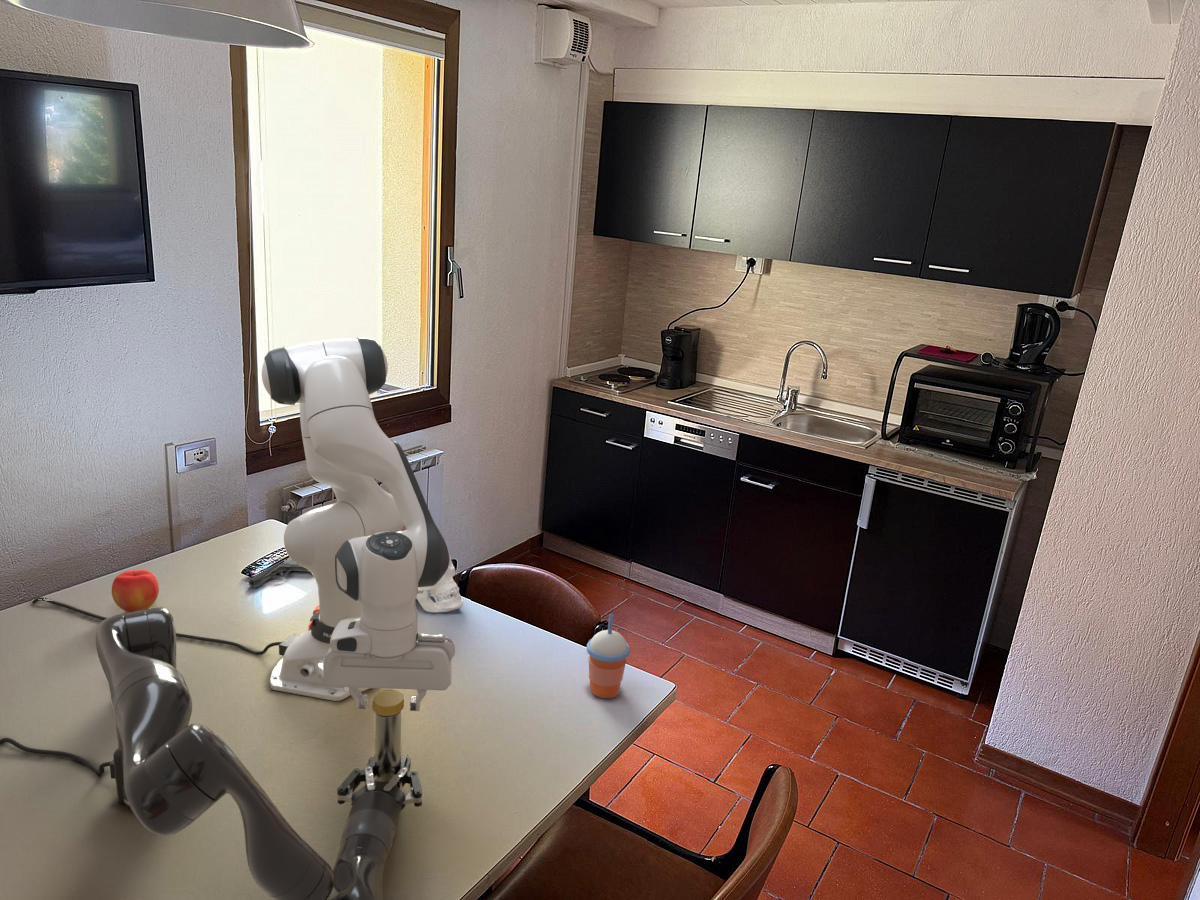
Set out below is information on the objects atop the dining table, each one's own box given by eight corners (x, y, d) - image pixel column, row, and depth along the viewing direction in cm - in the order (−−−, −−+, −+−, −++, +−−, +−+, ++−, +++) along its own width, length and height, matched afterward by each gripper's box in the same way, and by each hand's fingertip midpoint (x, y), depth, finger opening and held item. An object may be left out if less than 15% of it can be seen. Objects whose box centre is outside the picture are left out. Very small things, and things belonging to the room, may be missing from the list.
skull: (448, 622, 203) (451, 561, 199) (372, 599, 211) (374, 540, 207) (477, 602, 215) (480, 543, 211) (405, 581, 223) (406, 524, 219)
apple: (163, 615, 196) (160, 576, 193) (116, 624, 191) (112, 584, 188) (157, 598, 204) (154, 559, 201) (111, 606, 199) (107, 567, 196)
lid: (398, 718, 137) (398, 708, 137) (368, 714, 137) (367, 704, 137) (407, 700, 142) (408, 691, 141) (378, 696, 142) (378, 687, 142)
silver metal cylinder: (372, 808, 143) (372, 708, 137) (377, 791, 147) (377, 693, 141) (398, 809, 143) (399, 709, 137) (402, 792, 147) (403, 694, 141)
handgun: (292, 594, 211) (247, 586, 213) (325, 565, 228) (283, 558, 229) (291, 586, 211) (246, 578, 212) (325, 557, 227) (283, 550, 229)
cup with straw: (621, 706, 176) (629, 628, 171) (578, 698, 178) (585, 621, 173) (629, 682, 185) (636, 608, 180) (588, 675, 186) (594, 601, 181)
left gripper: (417, 811, 129) (433, 741, 145) (321, 808, 128) (348, 738, 144) (416, 852, 131) (432, 778, 147) (322, 849, 130) (348, 775, 147)
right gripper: (456, 625, 140) (454, 699, 144) (329, 620, 138) (330, 695, 142) (452, 645, 134) (450, 721, 138) (319, 640, 132) (321, 717, 136)
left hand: (390, 758), depth 146 cm, fingers closed on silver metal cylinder, 4 cm apart
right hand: (388, 708), depth 140 cm, fingers open, 7 cm apart
